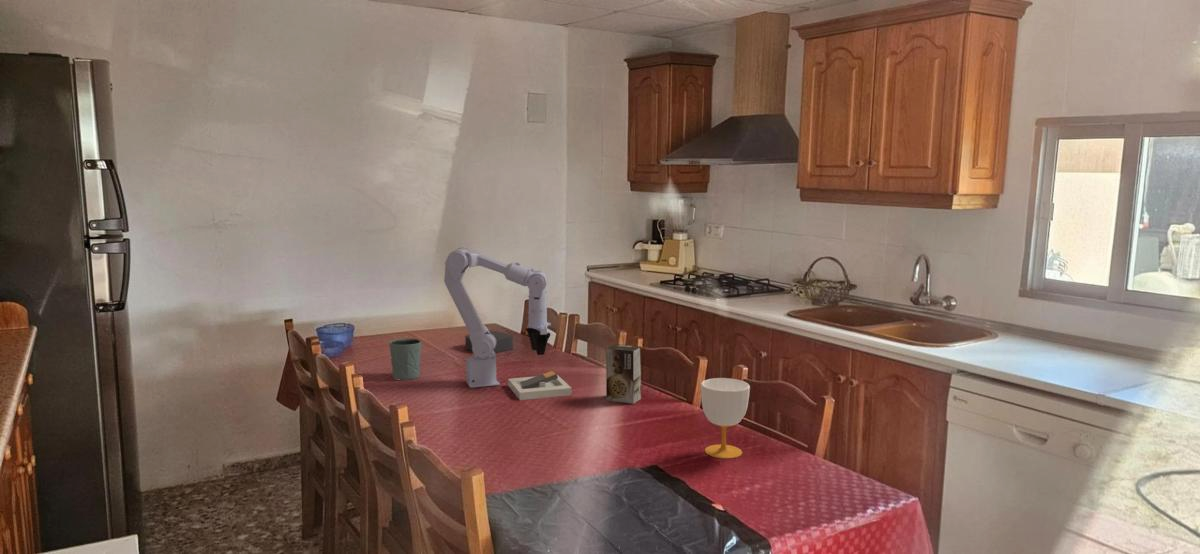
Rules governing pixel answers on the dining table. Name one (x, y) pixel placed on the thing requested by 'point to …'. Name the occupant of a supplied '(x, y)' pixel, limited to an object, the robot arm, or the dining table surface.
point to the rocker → (538, 380)
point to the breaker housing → (540, 389)
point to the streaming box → (502, 341)
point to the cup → (724, 410)
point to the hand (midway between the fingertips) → (538, 352)
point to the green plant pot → (405, 358)
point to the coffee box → (623, 373)
